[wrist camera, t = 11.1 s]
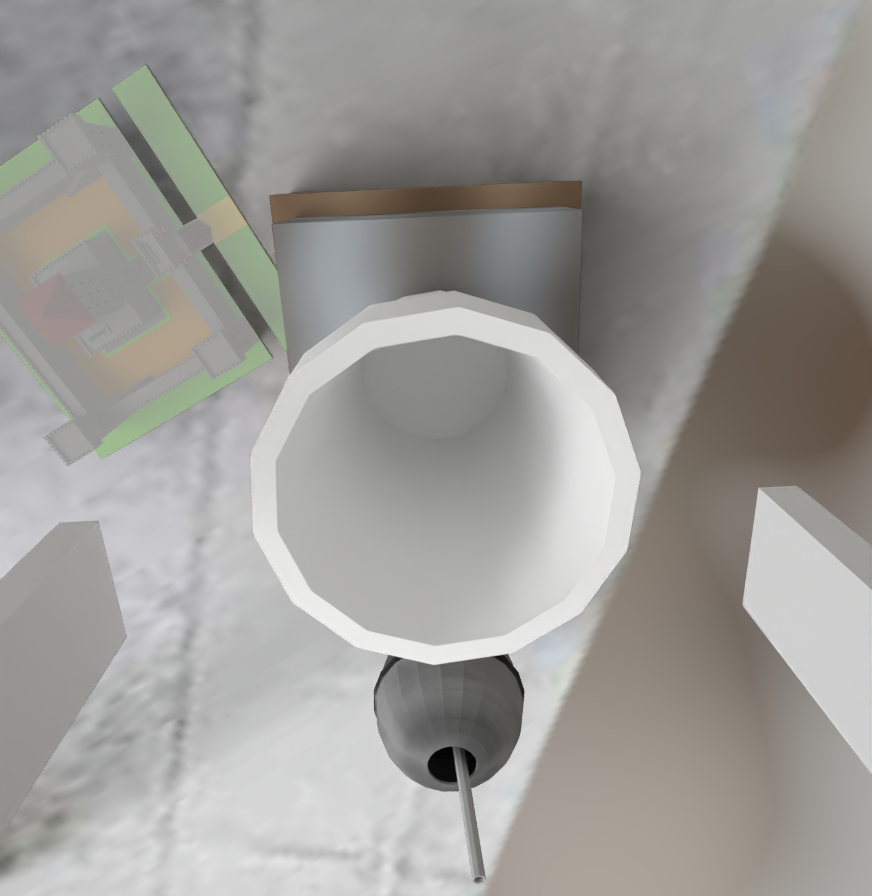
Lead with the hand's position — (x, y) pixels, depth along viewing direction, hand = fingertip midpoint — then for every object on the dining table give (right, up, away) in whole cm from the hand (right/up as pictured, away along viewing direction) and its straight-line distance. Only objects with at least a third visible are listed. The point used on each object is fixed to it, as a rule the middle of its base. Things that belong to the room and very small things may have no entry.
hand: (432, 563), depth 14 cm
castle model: (-17, +12, +24) cm, 31 cm away
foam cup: (0, +6, +15) cm, 16 cm away
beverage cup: (0, -6, +30) cm, 31 cm away
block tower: (0, +9, +24) cm, 26 cm away
